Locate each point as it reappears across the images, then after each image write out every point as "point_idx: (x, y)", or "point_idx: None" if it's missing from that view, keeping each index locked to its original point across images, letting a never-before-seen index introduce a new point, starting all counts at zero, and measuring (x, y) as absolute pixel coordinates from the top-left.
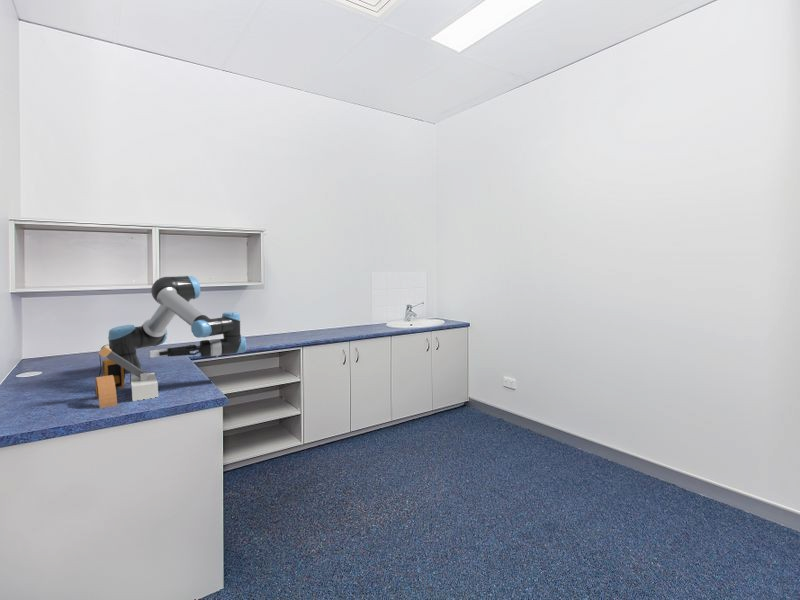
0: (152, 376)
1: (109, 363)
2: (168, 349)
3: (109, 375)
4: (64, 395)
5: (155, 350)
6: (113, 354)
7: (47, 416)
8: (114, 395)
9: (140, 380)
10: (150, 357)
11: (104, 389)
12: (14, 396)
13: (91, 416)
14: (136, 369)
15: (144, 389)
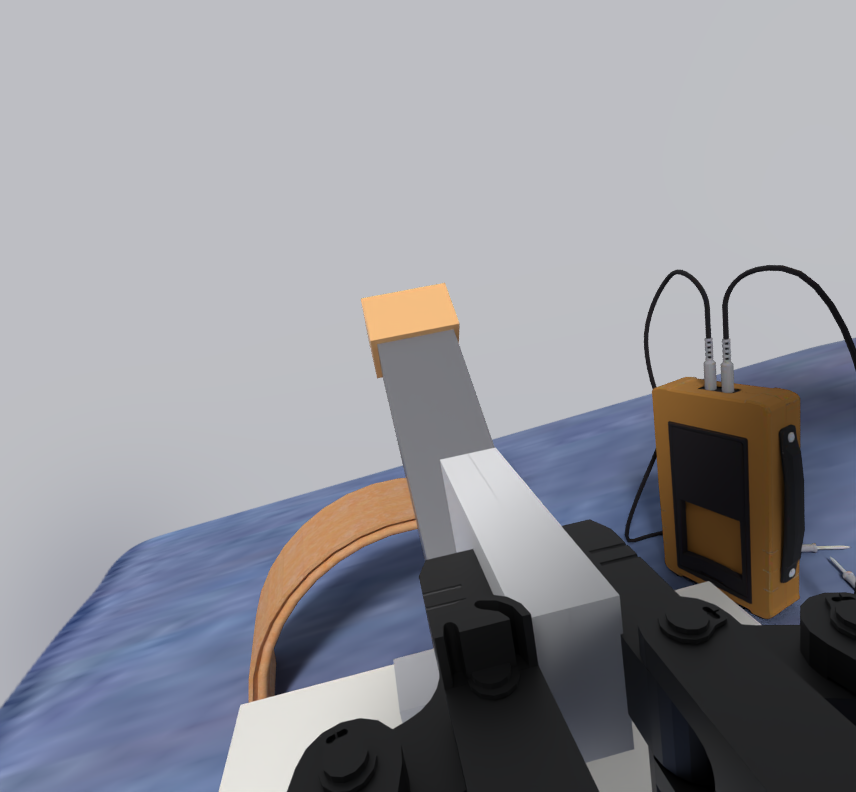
0: (646, 785)
1: (678, 411)
2: (441, 645)
3: (410, 506)
4: (591, 482)
5: (492, 482)
6: (382, 368)
7: (282, 544)
8: (251, 659)
9: None
10: (456, 550)
11: (271, 581)
12: (608, 413)
13: (118, 675)
14: None
15: None
